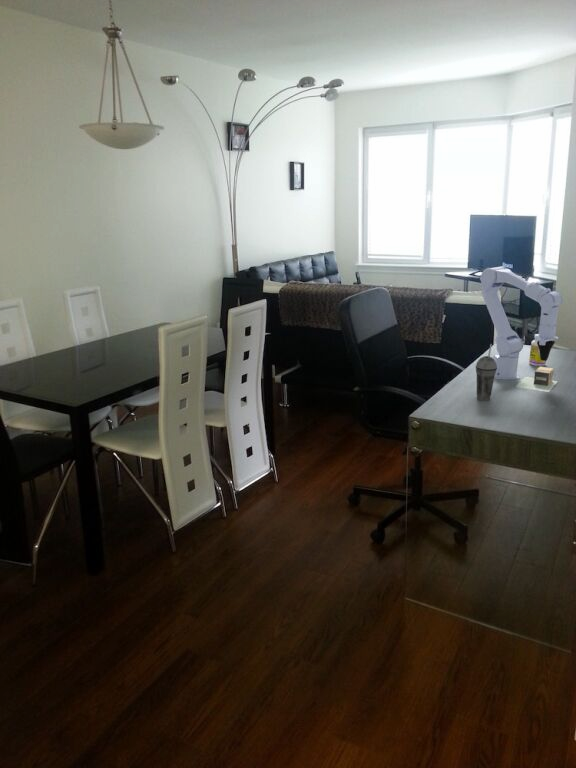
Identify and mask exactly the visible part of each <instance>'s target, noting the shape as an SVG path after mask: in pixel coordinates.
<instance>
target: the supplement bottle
mask: <svg viewBox="0 0 576 768" xmlns="http://www.w3.org/2000/svg"><path fill="white" fill-rule="evenodd" d="M538 335H539V333H535V334H534V339H533V340H532V341H531V344H530V352H529V358H528V364H530V365H532V366H535V367H545V366H546V364H547V361H544V360H541V359H540V351H539V347H538V345H537V342H538V341H539V339H538Z"/></svg>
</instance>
